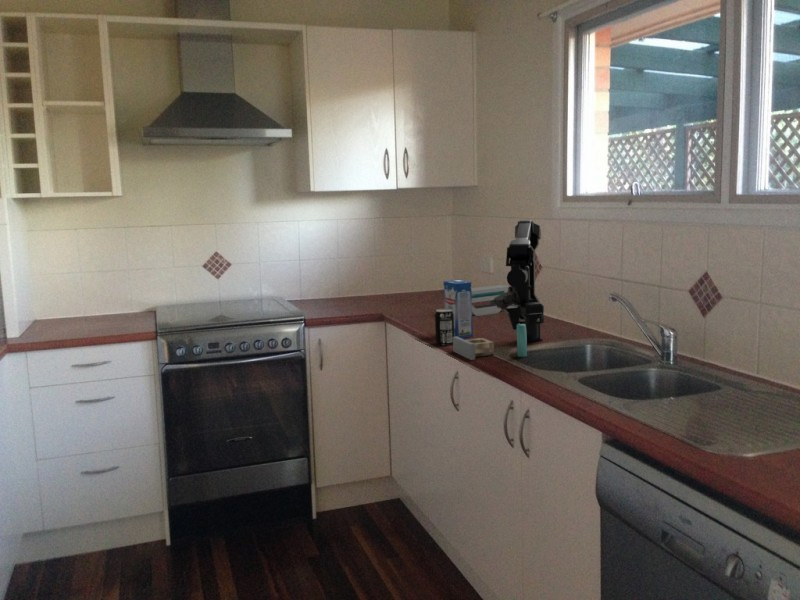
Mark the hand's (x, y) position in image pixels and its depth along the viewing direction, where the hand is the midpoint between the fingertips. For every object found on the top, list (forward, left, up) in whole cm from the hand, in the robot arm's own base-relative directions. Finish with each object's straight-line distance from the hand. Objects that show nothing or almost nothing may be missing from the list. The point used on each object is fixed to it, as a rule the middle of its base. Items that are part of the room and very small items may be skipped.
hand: (521, 332), depth 229 cm
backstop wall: (+16, -10, -8) cm, 20 cm away
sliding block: (+11, -10, -8) cm, 17 cm away
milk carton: (+4, -41, -8) cm, 42 cm away
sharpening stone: (-24, -80, -8) cm, 84 cm away
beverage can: (+14, -30, -8) cm, 34 cm away
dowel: (0, 0, -8) cm, 8 cm away
